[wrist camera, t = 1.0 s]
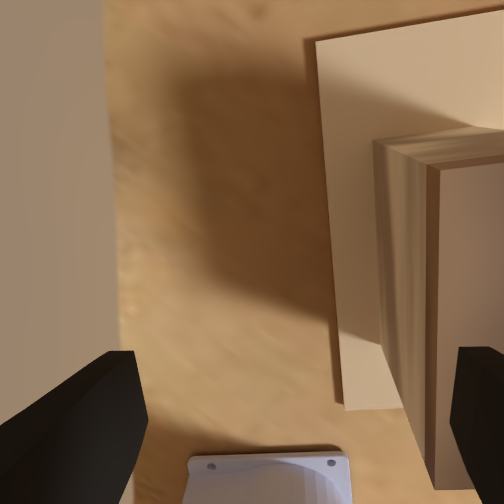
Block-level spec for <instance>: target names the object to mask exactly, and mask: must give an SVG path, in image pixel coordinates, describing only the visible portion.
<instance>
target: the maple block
mask: <svg viewBox="0 0 504 504" xmlns="http://www.w3.org/2000/svg"><path fill="white" fill-rule="evenodd" d="M373 166H374V192H375V218H376V244H377V270H378V296H379V322H380V345H381V348H382V351H383V353H384V356H385V359H386V361H387V364H388V367H389V369H390V372H391V375H392V377H393V380H394V383H395V385H396V388H397V391H398V393H399V396H400V399H401V401H402V404H403V407H404V409H405V412H406V415H407V417H408V420H409V423H410V426H411V428H412V431H413V434H414V436H415V439H416V442H417V444H418V447H419V450H420V452H421V455H422V458H423V460H424V463H425V466H426V468H427V471H428V474H429V476H430V479H431V482H432V484H433V487H434V490H464V489H475V487H474V485H473V483H472V481H471V479H470V477H469V475H468V473H467V471H466V468H465V465H464V463H463V460H462V457H461V455H460V452H459V449H458V447H457V444H456V441H455V438H454V435H453V432H452V429H451V426H450V423H449V420H450V412H451V404H452V396H453V388H454V380H455V372H456V364H457V356H458V348H459V347H475V346H489V347H491V348H493V349H495V350H497V351H498V352H500V353H502V354H504V130H500V129H492V128H484V127H476V126H473V127H465V128H458V129H451V130H443V131H436V132H428V133H421V134H414V135H406V136H399V137H391V138H384V139H377V140H373Z"/></svg>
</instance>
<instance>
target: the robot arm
mask: <svg viewBox="0 0 504 504" xmlns="http://www.w3.org/2000/svg"><path fill="white" fill-rule="evenodd" d="M449 423H450V426H451V429H452V432H453V435H454V438H455V441H456V444H457V447H458V449H459V452H460V455H461V457H462V460H463V463H464V465H465V468H466V471H467V473H468V475H469V477H470V479H471V481H472V483H473V485H474V487H475V489H476V491H477V493H478V495H479V497H480V499H481V501H482V503H483V504H504V354H502V353H500V352H498V351H497V350H495V349H493V348H491V347H489V346H475V347H459V348H458V356H457V364H456V372H455V380H454V388H453V396H452V404H451V412H450V420H449ZM147 424H148V415H147V410H146V405H145V401H144V396H143V391H142V387H141V382H140V377H139V372H138V368H137V363H136V358H135V354H134V351H108V352H107V353H105V354H103V355H102V356H100V357H98V358H97V359H95V360H94V361H93V362H91V363H89V364H88V365H87V366H85V367H84V368H82V369H81V370H79V371H78V372H77V373H75V374H74V375H72V376H71V377H70V378H68V379H67V380H65V381H64V382H63V383H61V384H60V385H58V386H57V387H56V388H54V389H53V390H51V391H50V392H48V393H47V394H46V395H44V396H43V397H41V398H40V399H38V400H37V401H36V402H34V403H33V404H31V405H30V406H29V407H27V408H26V409H24V410H23V411H21V412H20V413H18V414H17V415H15V416H14V417H12V418H11V419H9V420H8V421H6V422H4V423H3V424H2V425H0V504H119V501H120V499H121V497H122V494H123V492H124V490H125V488H126V485H127V483H128V480H129V478H130V476H131V474H132V471H133V469H134V466H135V464H136V461H137V458H138V455H139V451H140V448H141V445H142V442H143V438H144V435H145V431H146V427H147ZM329 460H332V461H329ZM210 463H212V464H210ZM187 467H188V471H189V478H188V482H187V486H186V489H185V493H184V497H183V500H182V504H352V494H351V481H350V468H349V459H348V455H347V454H346V453H345V452H342V451H324V452H296V453H267V454H239V455H210V456H193V457H191V458H190V459H189V461H188V464H187Z"/></svg>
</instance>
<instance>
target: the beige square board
mask: <svg viewBox="0 0 504 504" xmlns="http://www.w3.org/2000/svg"><path fill="white" fill-rule="evenodd" d="M315 48H316V61H317V73H318V86H319V98H320V111H321V124H322V136H323V149H324V161H325V174H326V187H327V199H328V212H329V225H330V237H331V250H332V262H333V275H334V288H335V300H336V313H337V325H338V338H339V351H340V363H341V376H342V388H343V401H344V409H345V411H348V410H369V409H389V408H404V407H403V404H402V401H401V399H400V396H399V393H398V391H397V388H396V385H395V383H394V380H393V377H392V375H391V372H390V369H389V367H388V364H387V361H386V359H385V356H384V353H383V351H382V348H381V345H380V322H379V296H378V270H377V244H376V218H375V192H374V166H373V140H377V139H384V138H391V137H399V136H406V135H414V134H421V133H428V132H436V131H443V130H451V129H458V128H465V127H473V126H476V127H484V128H492V129H500V130H504V10H499V11H493V12H487V13H481V14H476V15H470V16H464V17H458V18H452V19H446V20H440V21H435V22H429V23H423V24H417V25H411V26H405V27H399V28H393V29H388V30H382V31H376V32H370V33H364V34H358V35H352V36H347V37H341V38H335V39H329V40H323V41H317V42H315Z"/></svg>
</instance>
